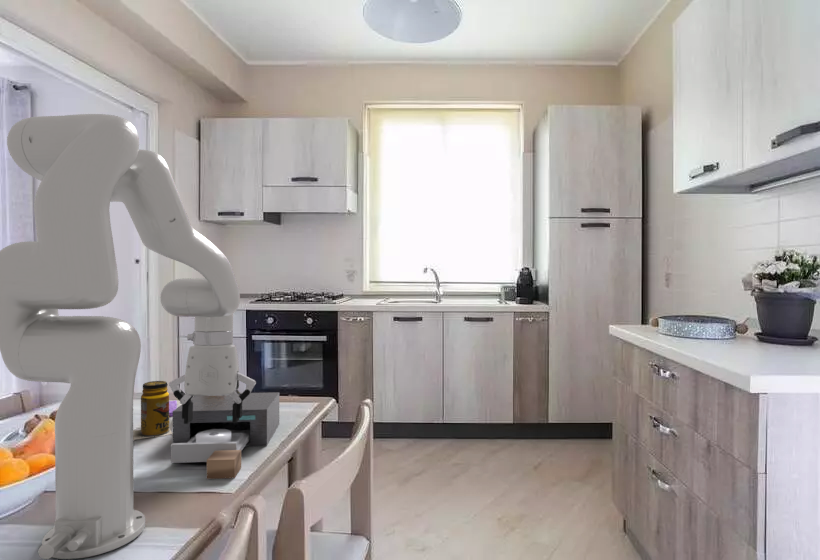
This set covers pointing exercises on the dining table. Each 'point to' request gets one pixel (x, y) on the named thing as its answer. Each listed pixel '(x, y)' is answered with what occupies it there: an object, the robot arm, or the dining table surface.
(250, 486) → the dining table surface
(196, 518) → the dining table surface
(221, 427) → the player
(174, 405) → the sponges
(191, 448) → the tray
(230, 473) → the walnut block
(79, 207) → the robot arm
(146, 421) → the condiment
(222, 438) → the disc
